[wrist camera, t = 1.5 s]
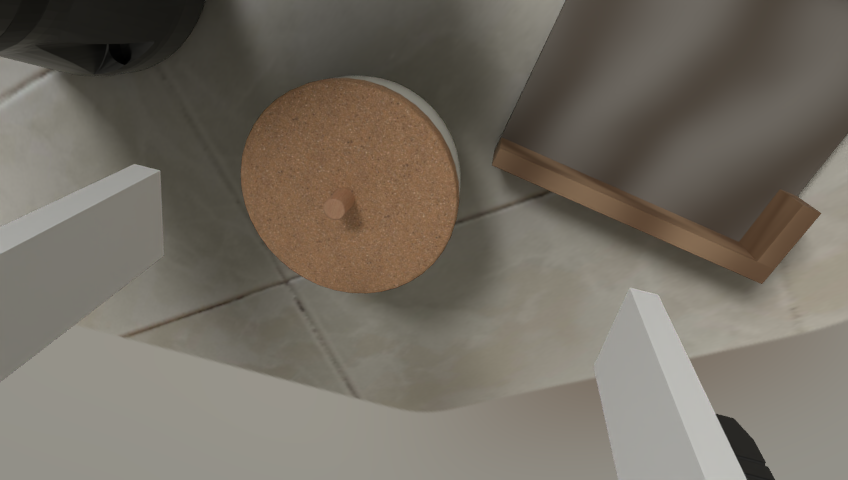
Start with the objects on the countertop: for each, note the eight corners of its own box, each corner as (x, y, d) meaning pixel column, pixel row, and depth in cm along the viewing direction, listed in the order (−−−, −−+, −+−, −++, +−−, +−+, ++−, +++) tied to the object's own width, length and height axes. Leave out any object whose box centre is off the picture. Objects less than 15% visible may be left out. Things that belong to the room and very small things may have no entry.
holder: (494, 150, 30) (491, 165, 27) (646, -171, 23) (664, -195, 20) (739, 258, 30) (761, 284, 27) (965, -27, 23) (1025, -31, 20)
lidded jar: (499, 103, 29) (492, 143, 21) (435, 258, 34) (408, 343, 25) (322, 33, 29) (243, 45, 21) (283, 198, 34) (205, 263, 25)
